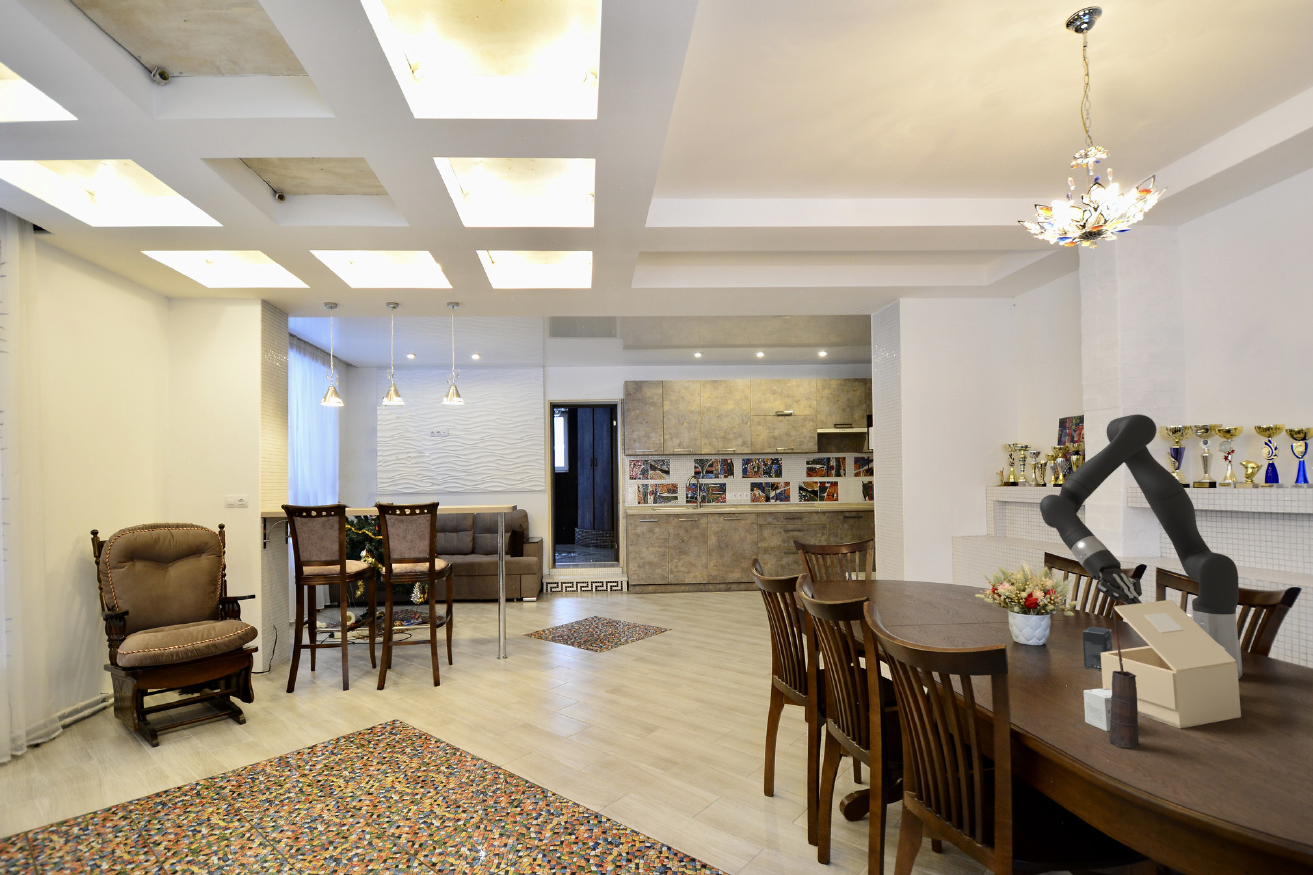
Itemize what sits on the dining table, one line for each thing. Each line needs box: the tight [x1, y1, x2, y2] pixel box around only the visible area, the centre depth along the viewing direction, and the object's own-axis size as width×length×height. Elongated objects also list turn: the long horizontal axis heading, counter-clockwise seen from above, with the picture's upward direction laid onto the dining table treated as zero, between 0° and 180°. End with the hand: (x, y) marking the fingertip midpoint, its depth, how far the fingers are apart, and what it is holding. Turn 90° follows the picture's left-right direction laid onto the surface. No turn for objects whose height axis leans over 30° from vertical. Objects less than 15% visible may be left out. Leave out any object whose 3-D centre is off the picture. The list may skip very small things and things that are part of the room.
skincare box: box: [1083, 687, 1112, 732], centre depth 153 cm, size 6×6×7 cm
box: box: [1082, 626, 1113, 671], centre depth 197 cm, size 8×6×11 cm
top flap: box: [1113, 599, 1236, 672], centre depth 160 cm, size 19×18×1 cm
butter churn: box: [1108, 606, 1140, 749], centre depth 142 cm, size 9×10×28 cm
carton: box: [1101, 645, 1242, 730], centre depth 162 cm, size 20×18×12 cm
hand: (1143, 613), depth 167 cm, fingers closed
